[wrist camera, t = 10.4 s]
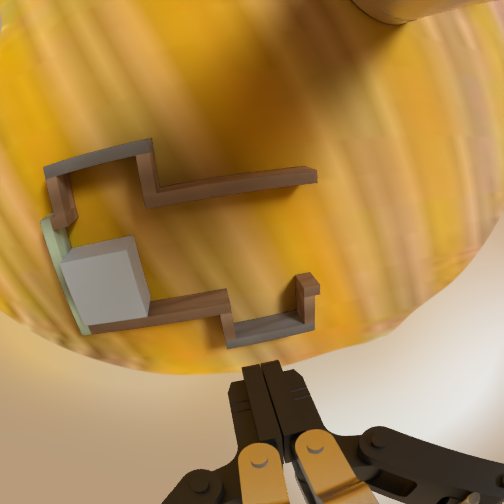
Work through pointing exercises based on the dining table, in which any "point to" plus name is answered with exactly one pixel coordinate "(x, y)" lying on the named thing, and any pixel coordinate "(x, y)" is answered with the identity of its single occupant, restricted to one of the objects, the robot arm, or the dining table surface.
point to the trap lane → (169, 195)
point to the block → (107, 281)
